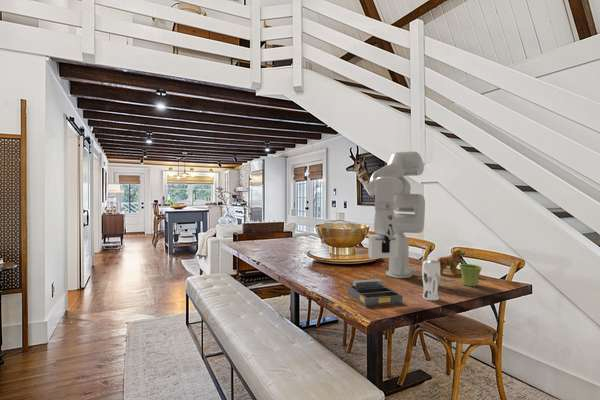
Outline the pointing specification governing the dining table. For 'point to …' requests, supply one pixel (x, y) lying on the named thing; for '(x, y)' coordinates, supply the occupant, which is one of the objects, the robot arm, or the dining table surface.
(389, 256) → the panel
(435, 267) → the beer glass
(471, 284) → the plant pot
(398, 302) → the tray
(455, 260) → the figurine
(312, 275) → the dining table surface
